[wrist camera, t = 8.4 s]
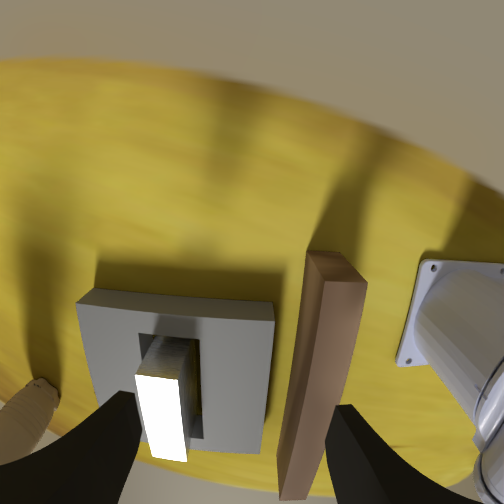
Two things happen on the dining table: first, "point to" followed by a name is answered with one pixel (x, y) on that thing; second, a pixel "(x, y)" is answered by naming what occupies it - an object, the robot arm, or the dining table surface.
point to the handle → (26, 419)
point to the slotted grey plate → (211, 357)
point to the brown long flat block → (318, 366)
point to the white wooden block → (169, 395)
